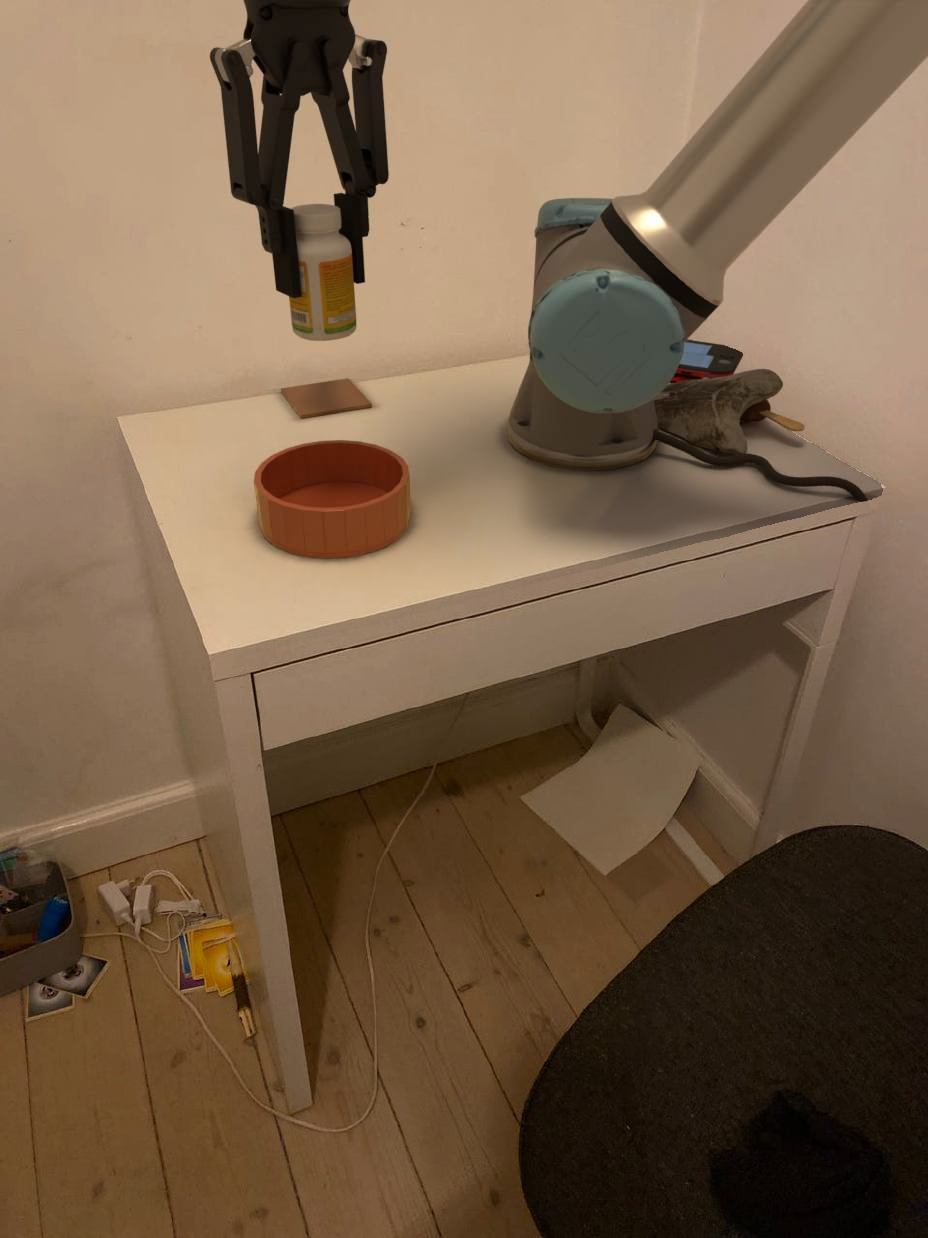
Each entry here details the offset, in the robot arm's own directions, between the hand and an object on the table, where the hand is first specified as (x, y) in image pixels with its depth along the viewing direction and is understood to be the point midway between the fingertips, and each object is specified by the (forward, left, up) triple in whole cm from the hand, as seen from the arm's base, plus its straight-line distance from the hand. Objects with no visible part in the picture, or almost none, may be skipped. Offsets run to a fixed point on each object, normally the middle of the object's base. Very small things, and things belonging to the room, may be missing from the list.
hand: (321, 285), depth 78 cm
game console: (-22, -45, -19) cm, 54 cm away
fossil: (-20, -30, -18) cm, 40 cm away
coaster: (+11, -18, -19) cm, 28 cm away
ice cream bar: (-38, -26, -17) cm, 50 cm away
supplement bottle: (0, 0, -4) cm, 4 cm away
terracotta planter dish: (-3, +5, -19) cm, 19 cm away
